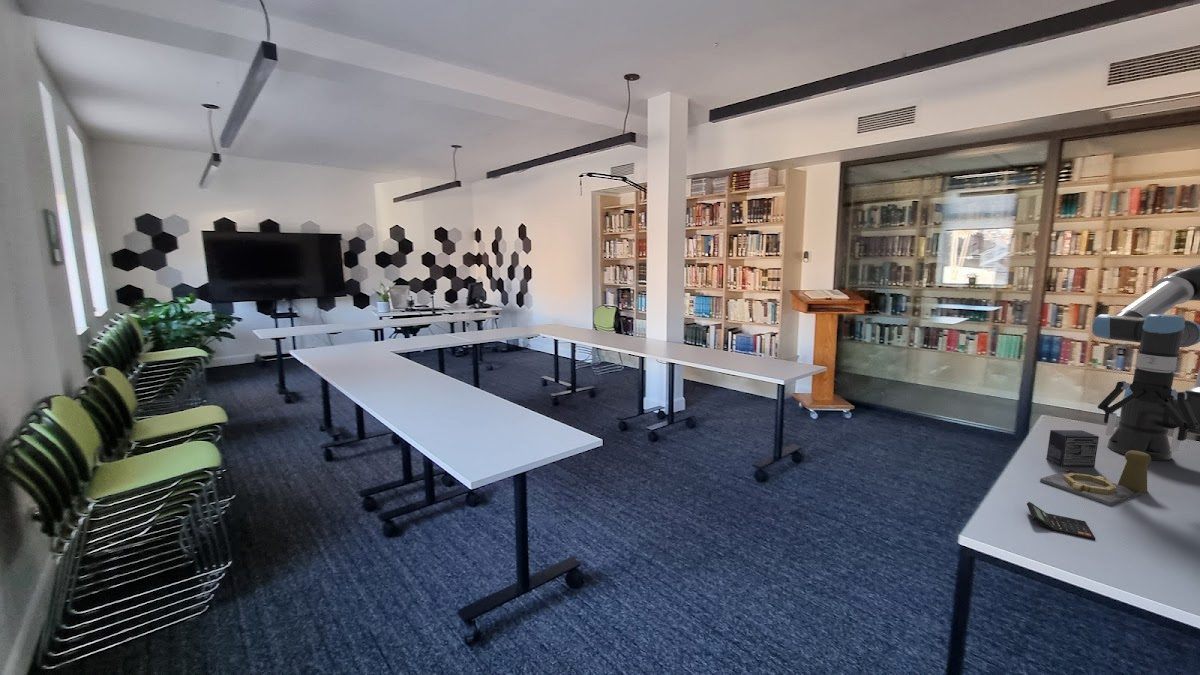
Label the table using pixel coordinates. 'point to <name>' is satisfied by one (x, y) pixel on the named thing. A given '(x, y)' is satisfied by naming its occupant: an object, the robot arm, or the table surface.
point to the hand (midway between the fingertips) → (1140, 442)
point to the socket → (1090, 487)
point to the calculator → (1061, 523)
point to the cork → (1135, 471)
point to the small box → (1072, 448)
